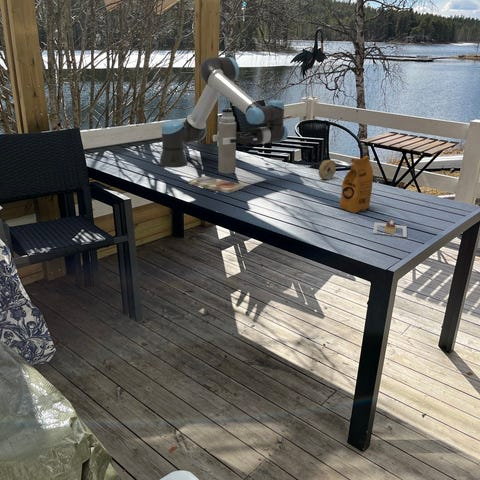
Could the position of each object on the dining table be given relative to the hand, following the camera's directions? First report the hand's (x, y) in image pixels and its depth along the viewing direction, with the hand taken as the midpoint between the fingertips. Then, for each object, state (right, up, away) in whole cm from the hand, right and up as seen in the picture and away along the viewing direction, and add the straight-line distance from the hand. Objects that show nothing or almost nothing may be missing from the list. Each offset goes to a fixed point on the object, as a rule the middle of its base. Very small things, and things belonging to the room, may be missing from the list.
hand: (218, 139), depth 222 cm
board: (-2, -19, +15) cm, 24 cm away
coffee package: (+58, -32, -12) cm, 68 cm away
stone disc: (+54, -14, +32) cm, 64 cm away
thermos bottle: (+4, -13, +8) cm, 16 cm away
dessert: (+66, -42, -36) cm, 86 cm away
